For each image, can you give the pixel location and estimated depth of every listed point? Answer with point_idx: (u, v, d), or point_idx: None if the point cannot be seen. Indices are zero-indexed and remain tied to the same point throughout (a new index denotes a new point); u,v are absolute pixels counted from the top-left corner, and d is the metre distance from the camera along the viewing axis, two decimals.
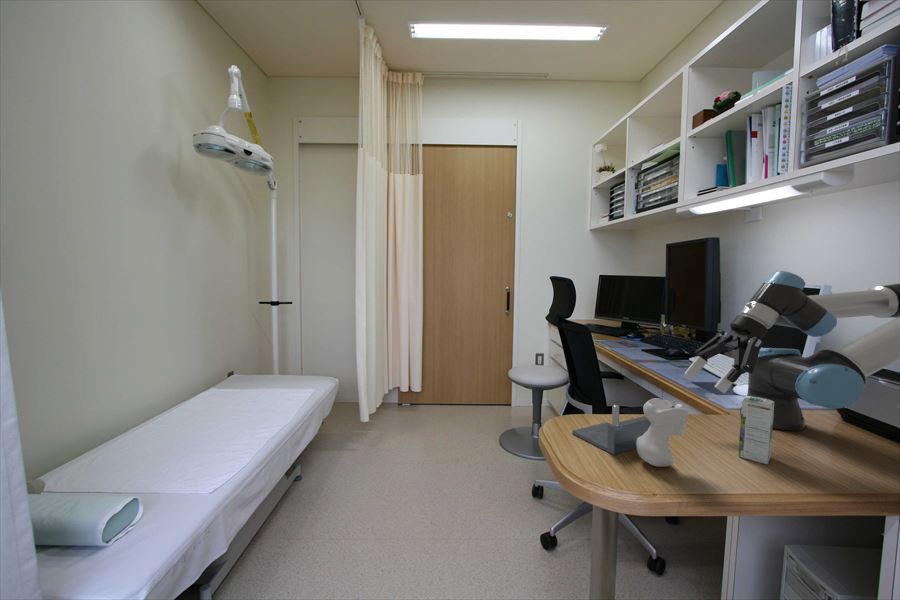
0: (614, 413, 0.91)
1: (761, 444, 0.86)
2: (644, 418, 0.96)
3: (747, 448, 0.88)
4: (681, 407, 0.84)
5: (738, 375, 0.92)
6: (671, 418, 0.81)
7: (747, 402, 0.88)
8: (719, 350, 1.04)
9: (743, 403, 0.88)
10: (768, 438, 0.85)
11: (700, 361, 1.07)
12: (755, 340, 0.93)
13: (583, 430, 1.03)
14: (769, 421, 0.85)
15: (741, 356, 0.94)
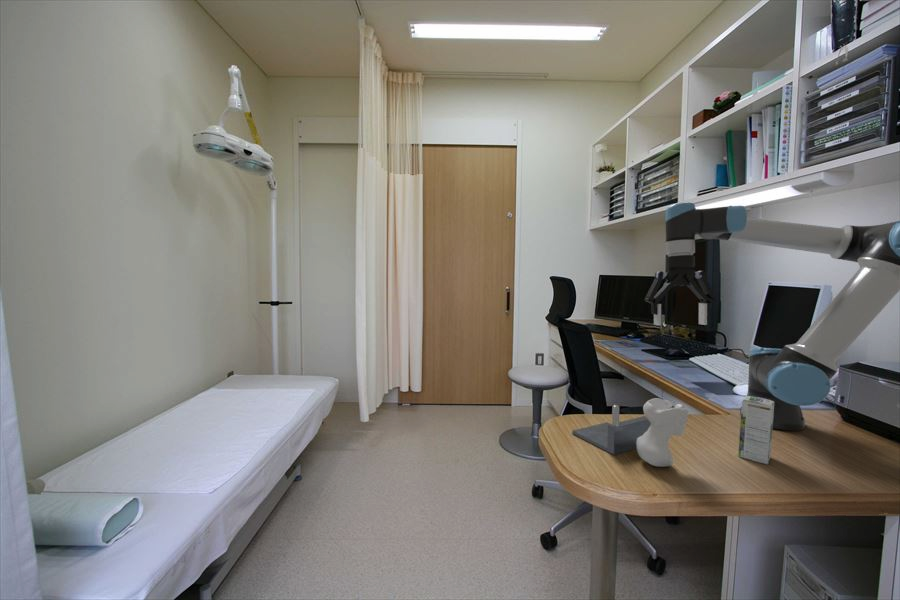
0: (614, 413, 0.91)
1: (761, 444, 0.86)
2: (644, 418, 0.96)
3: (747, 448, 0.88)
4: (681, 407, 0.84)
5: (652, 307, 1.10)
6: (671, 418, 0.81)
7: (747, 402, 0.88)
8: (694, 289, 1.10)
9: (743, 403, 0.88)
10: (768, 438, 0.85)
11: (700, 306, 1.11)
12: (655, 274, 1.11)
13: (583, 430, 1.03)
14: (769, 421, 0.85)
15: (660, 291, 1.11)
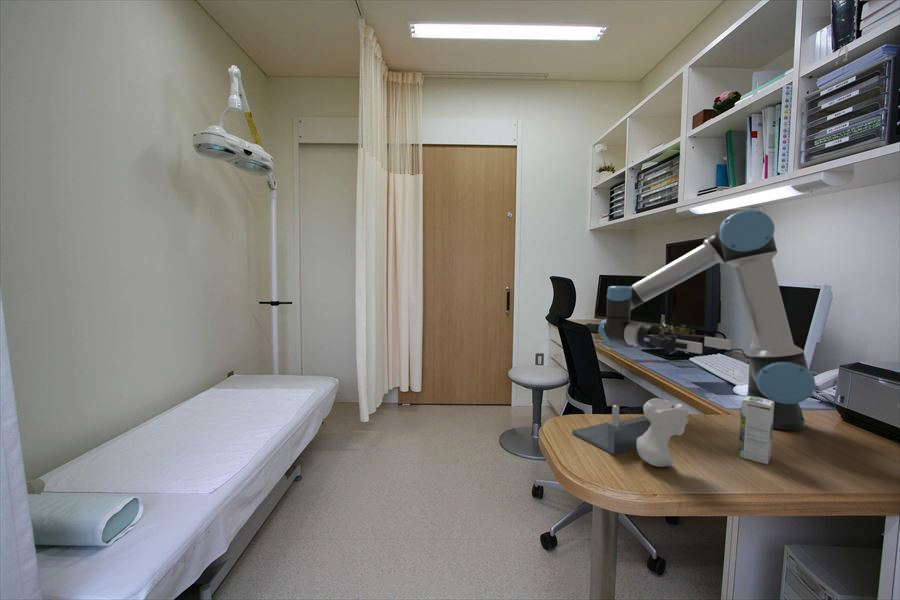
0: (614, 413, 0.91)
1: (761, 444, 0.86)
2: (644, 418, 0.96)
3: (747, 448, 0.88)
4: (681, 407, 0.84)
5: (676, 344, 0.98)
6: (671, 418, 0.81)
7: (747, 402, 0.88)
8: (684, 338, 1.08)
9: (743, 403, 0.88)
10: (768, 438, 0.85)
11: (708, 342, 1.05)
12: (646, 342, 1.08)
13: (583, 430, 1.03)
14: (769, 421, 0.85)
15: None
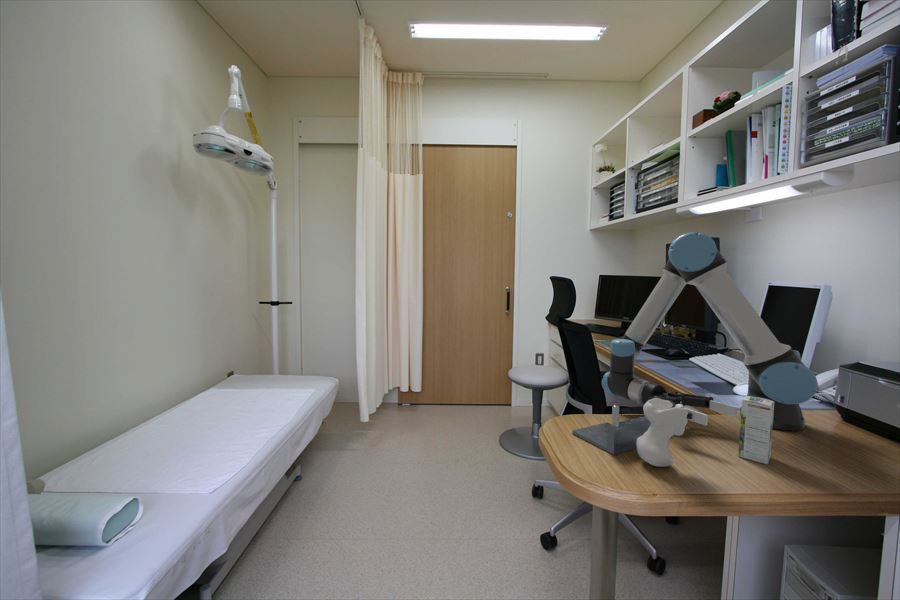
0: (614, 413, 0.91)
1: (761, 444, 0.86)
2: (644, 418, 0.96)
3: (747, 448, 0.88)
4: (681, 407, 0.84)
5: None
6: (671, 418, 0.81)
7: (747, 402, 0.88)
8: (689, 400, 1.07)
9: (743, 403, 0.88)
10: (768, 438, 0.85)
11: (713, 407, 1.03)
12: None
13: (583, 430, 1.03)
14: (769, 421, 0.85)
15: None
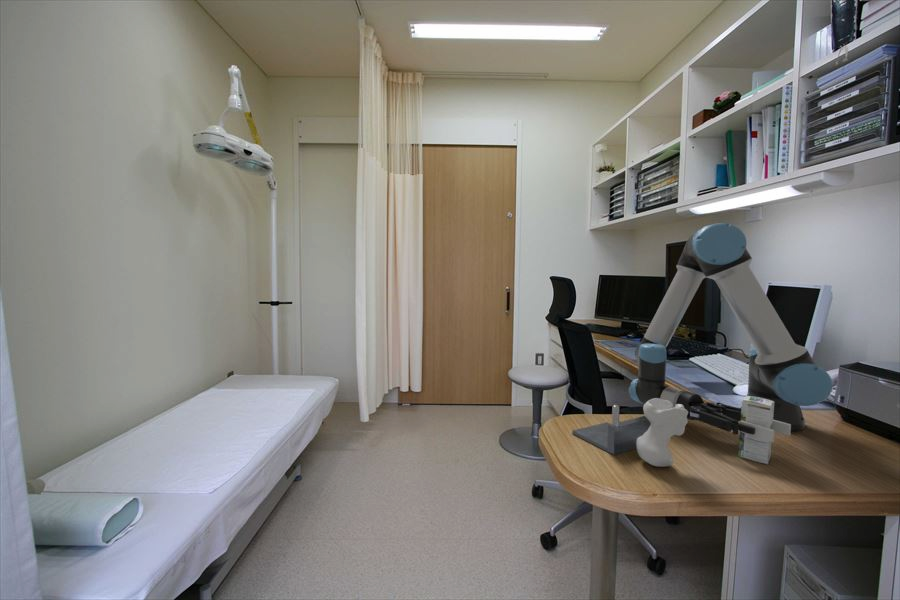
0: (614, 413, 0.91)
1: (761, 444, 0.86)
2: (644, 418, 0.96)
3: (747, 448, 0.88)
4: (681, 407, 0.84)
5: (741, 427, 0.87)
6: (671, 418, 0.81)
7: (747, 402, 0.88)
8: (730, 413, 0.96)
9: (743, 403, 0.88)
10: None
11: None
12: (693, 418, 0.96)
13: (583, 430, 1.03)
14: (769, 421, 0.85)
15: None
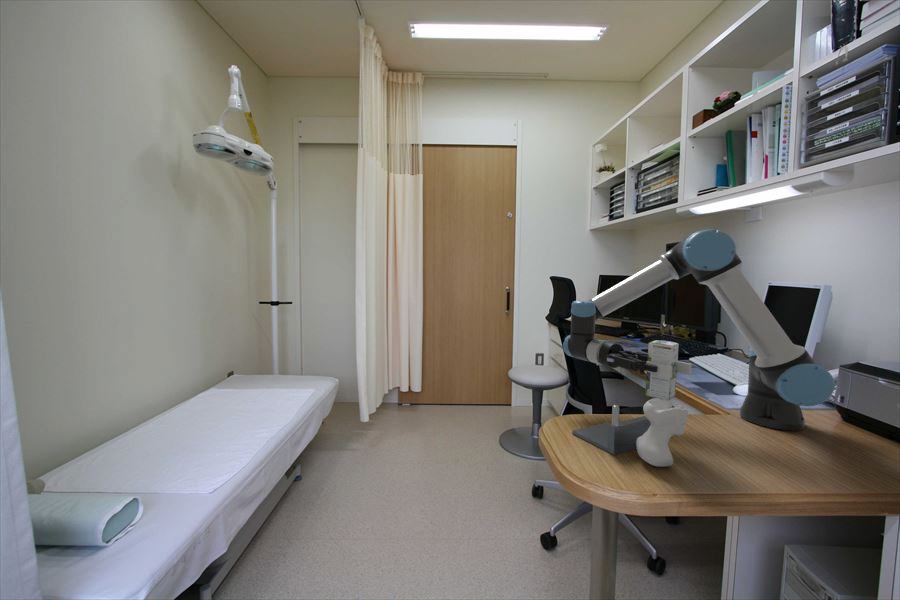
0: (614, 413, 0.91)
1: (663, 381, 0.93)
2: (644, 418, 0.96)
3: (652, 387, 0.94)
4: (681, 407, 0.84)
5: (646, 366, 0.93)
6: (671, 418, 0.81)
7: (653, 343, 0.94)
8: (644, 358, 1.02)
9: (649, 345, 0.95)
10: None
11: None
12: (609, 363, 1.02)
13: (583, 430, 1.03)
14: (670, 360, 0.91)
15: (631, 364, 0.99)
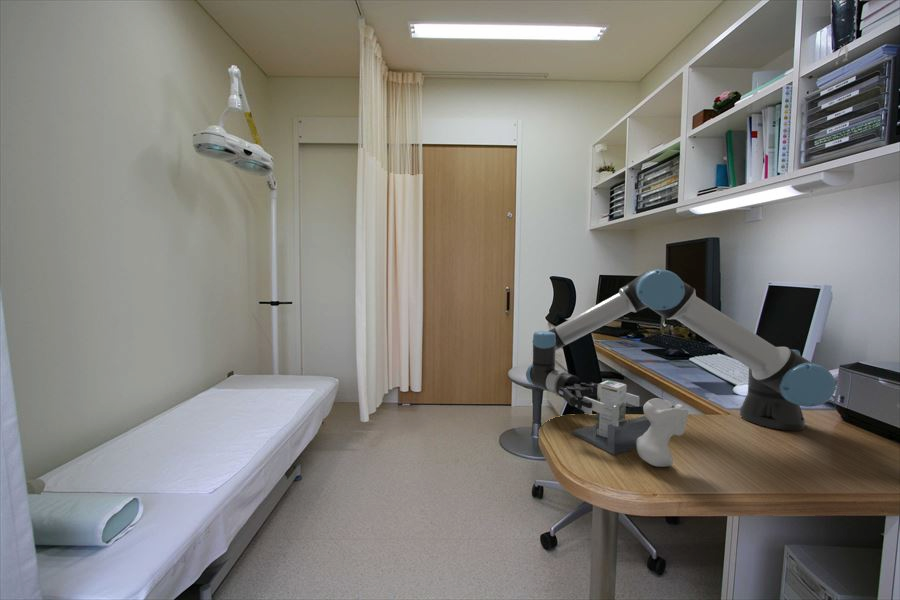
0: (614, 413, 0.91)
1: (611, 422, 0.97)
2: (644, 418, 0.96)
3: (601, 427, 0.98)
4: (681, 407, 0.84)
5: (582, 402, 0.97)
6: (671, 418, 0.81)
7: (601, 385, 0.98)
8: None
9: (598, 386, 0.99)
10: None
11: None
12: (560, 395, 1.07)
13: (583, 430, 1.03)
14: (616, 402, 0.95)
15: None
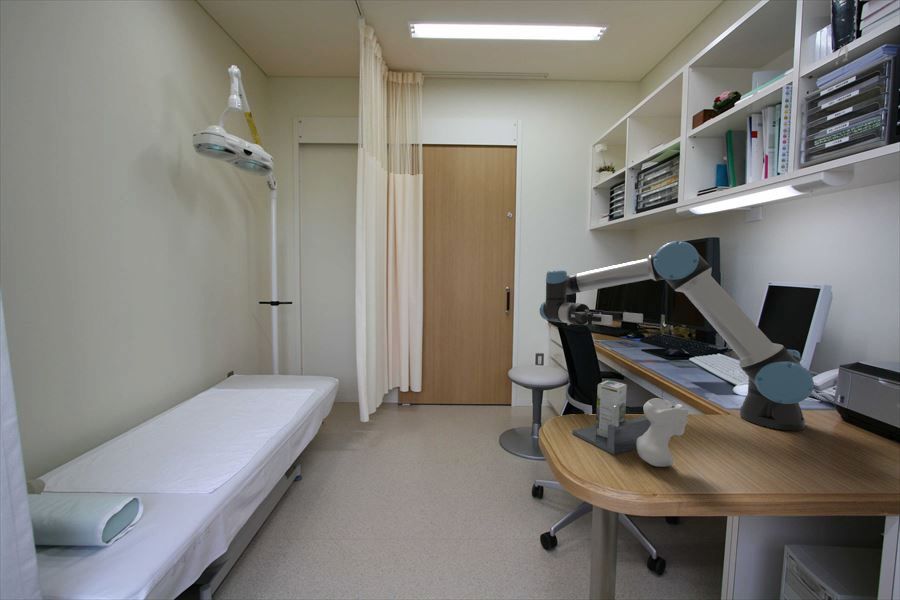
0: (614, 413, 0.91)
1: (611, 422, 0.97)
2: (644, 418, 0.96)
3: (601, 427, 0.98)
4: (681, 407, 0.84)
5: (592, 317, 1.11)
6: (671, 418, 0.81)
7: (601, 385, 0.98)
8: (607, 314, 1.21)
9: (598, 386, 0.99)
10: None
11: (625, 317, 1.17)
12: (572, 318, 1.20)
13: (583, 430, 1.03)
14: (616, 402, 0.95)
15: None
